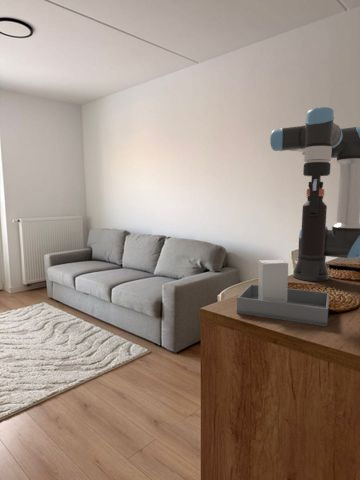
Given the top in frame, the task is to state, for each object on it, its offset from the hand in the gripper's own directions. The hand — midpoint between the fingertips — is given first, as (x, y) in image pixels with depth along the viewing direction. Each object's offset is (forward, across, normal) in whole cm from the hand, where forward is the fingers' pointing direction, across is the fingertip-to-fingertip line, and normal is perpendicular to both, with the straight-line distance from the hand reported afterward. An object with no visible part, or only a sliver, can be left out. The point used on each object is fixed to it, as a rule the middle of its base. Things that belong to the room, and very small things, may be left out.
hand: (312, 239), depth 103 cm
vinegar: (+5, +1, 0) cm, 5 cm away
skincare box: (+22, +2, -11) cm, 25 cm away
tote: (+23, +2, -7) cm, 24 cm away
